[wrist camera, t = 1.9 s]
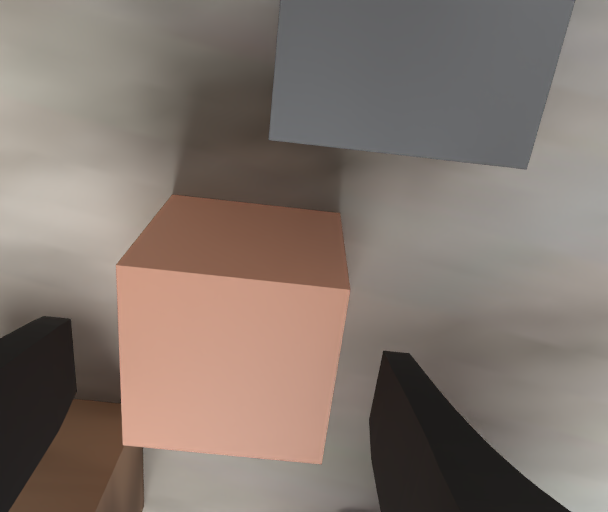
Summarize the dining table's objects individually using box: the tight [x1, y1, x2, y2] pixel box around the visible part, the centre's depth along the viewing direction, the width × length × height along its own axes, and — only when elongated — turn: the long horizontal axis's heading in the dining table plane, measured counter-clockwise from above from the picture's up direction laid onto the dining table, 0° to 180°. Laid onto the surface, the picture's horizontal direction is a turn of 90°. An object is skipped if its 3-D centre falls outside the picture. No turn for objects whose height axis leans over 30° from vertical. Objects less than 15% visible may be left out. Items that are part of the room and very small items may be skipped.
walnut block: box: [9, 399, 144, 512], centre depth 18 cm, size 5×5×5 cm
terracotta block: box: [116, 195, 350, 464], centre depth 15 cm, size 5×5×5 cm
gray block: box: [269, 0, 575, 169], centre depth 12 cm, size 5×5×5 cm
